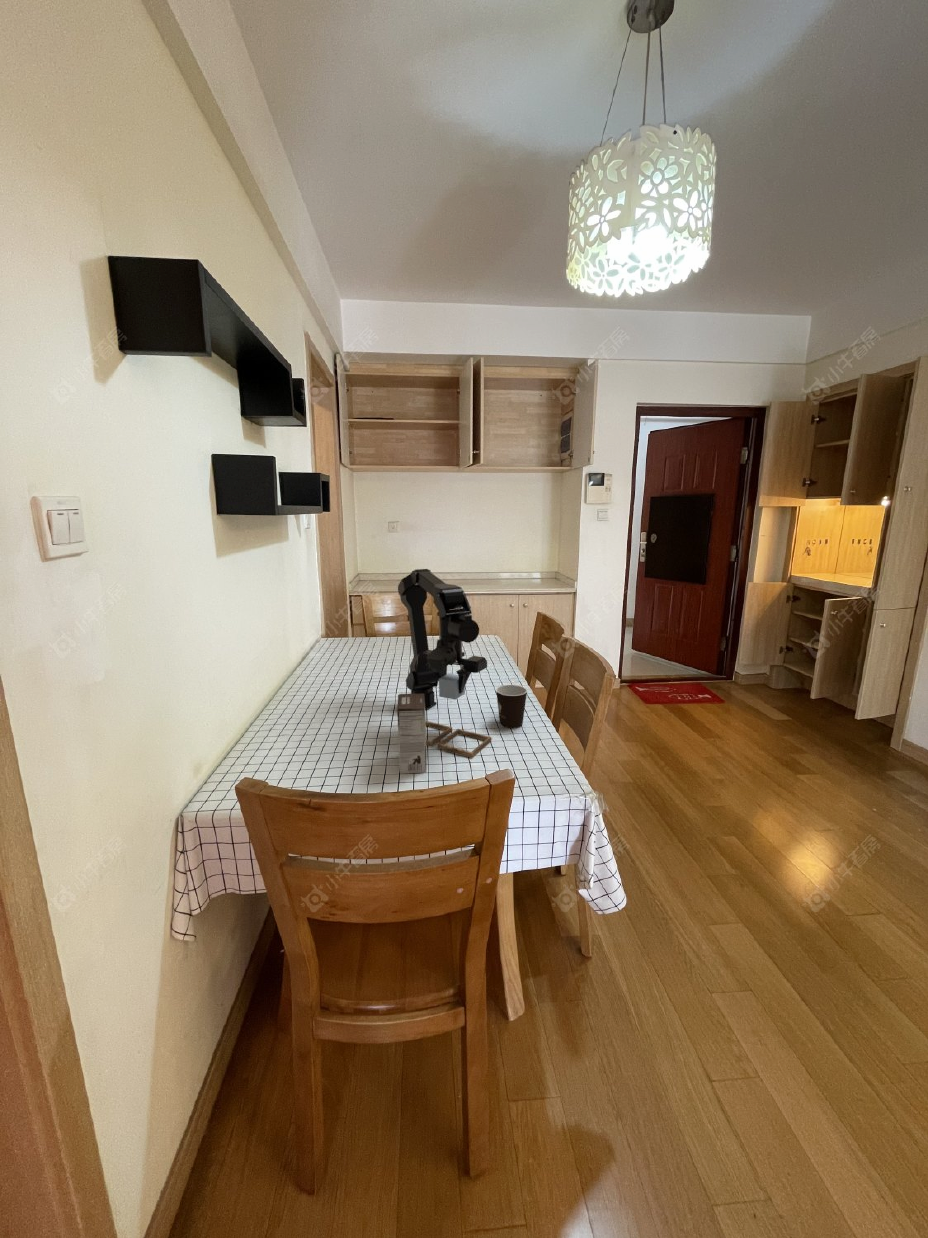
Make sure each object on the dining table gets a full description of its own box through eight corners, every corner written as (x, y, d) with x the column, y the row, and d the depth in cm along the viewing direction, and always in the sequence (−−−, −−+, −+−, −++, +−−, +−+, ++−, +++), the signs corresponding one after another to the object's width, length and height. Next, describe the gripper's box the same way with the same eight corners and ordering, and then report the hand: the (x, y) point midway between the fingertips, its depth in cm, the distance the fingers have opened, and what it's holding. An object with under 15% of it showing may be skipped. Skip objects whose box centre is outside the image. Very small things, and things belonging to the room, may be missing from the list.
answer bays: (398, 738, 128) (398, 733, 128) (421, 723, 137) (421, 718, 137) (471, 759, 117) (471, 753, 117) (491, 741, 126) (491, 736, 126)
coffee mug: (525, 731, 132) (525, 696, 129) (493, 728, 133) (494, 694, 131) (528, 714, 143) (529, 682, 141) (499, 712, 144) (499, 680, 142)
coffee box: (400, 755, 119) (398, 693, 116) (426, 753, 120) (424, 692, 116) (398, 774, 110) (396, 708, 107) (427, 772, 111) (425, 707, 107)
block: (439, 696, 129) (438, 678, 128) (449, 691, 133) (448, 673, 132) (455, 699, 126) (454, 681, 125) (464, 693, 130) (464, 676, 129)
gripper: (403, 637, 124) (406, 695, 127) (466, 645, 115) (467, 707, 118) (427, 629, 134) (429, 683, 137) (487, 635, 124) (488, 693, 127)
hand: (452, 691), depth 129 cm, fingers closed on block, 5 cm apart
